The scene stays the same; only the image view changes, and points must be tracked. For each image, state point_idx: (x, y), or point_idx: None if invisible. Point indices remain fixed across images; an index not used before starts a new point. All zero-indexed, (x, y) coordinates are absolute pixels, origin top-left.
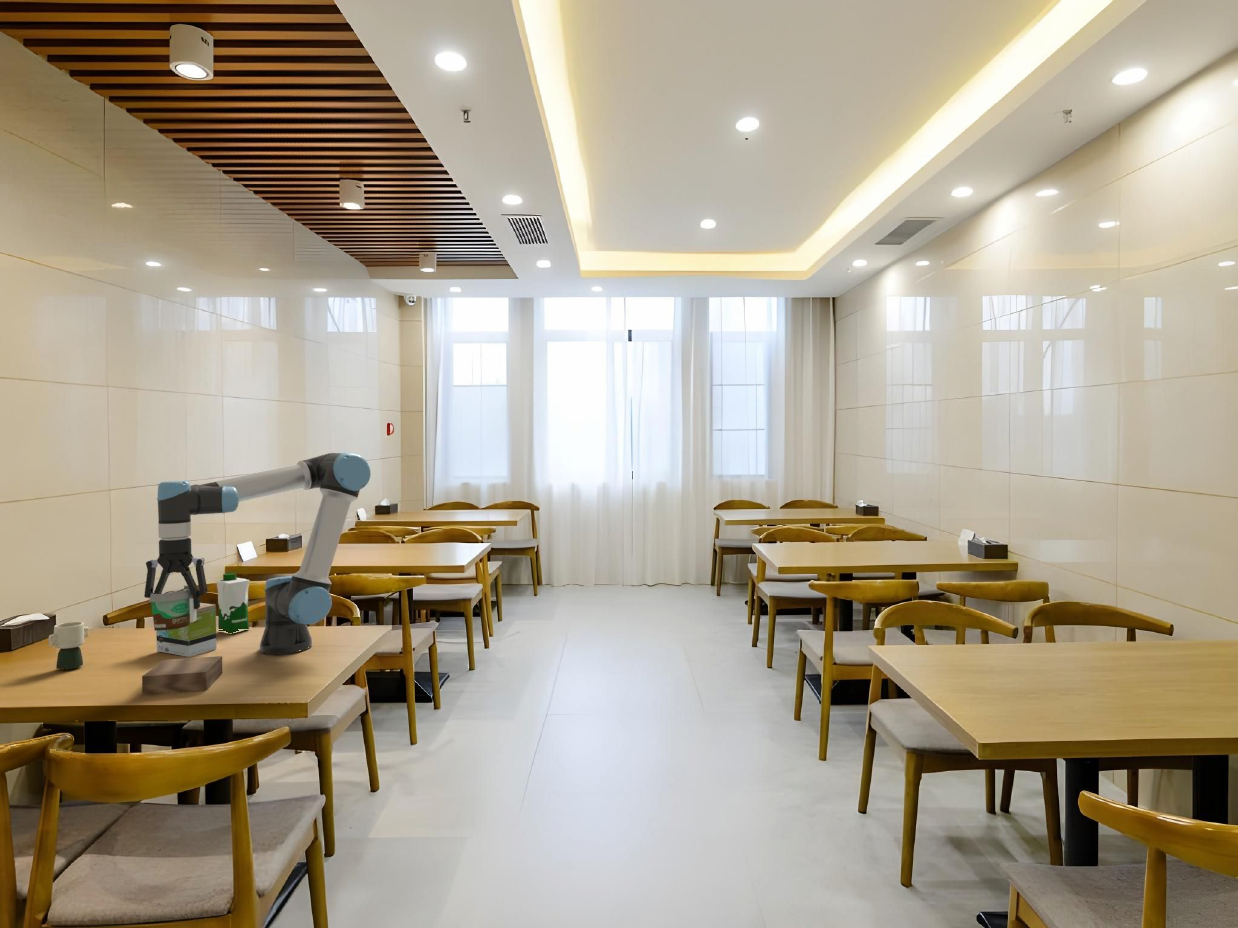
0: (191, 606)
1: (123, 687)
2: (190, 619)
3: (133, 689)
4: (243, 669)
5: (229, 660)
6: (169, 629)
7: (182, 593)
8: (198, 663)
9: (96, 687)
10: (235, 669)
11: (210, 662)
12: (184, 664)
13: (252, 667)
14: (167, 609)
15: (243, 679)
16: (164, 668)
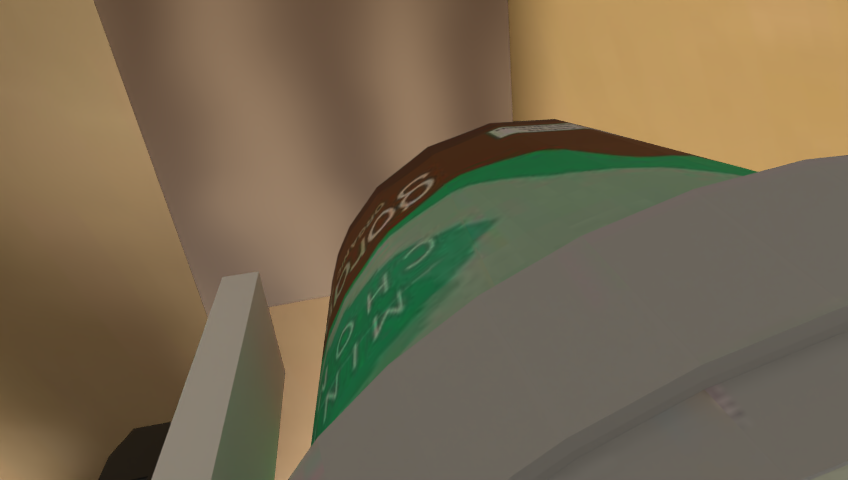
0: (197, 424)
1: (617, 87)
2: (250, 290)
3: (559, 46)
4: (152, 323)
5: (306, 438)
6: (446, 141)
7: None
8: (269, 177)
9: (734, 102)
10: (196, 324)
11: (199, 193)
12: (349, 163)
13: (123, 350)
14: (542, 203)
15: (30, 160)
16: (435, 88)
